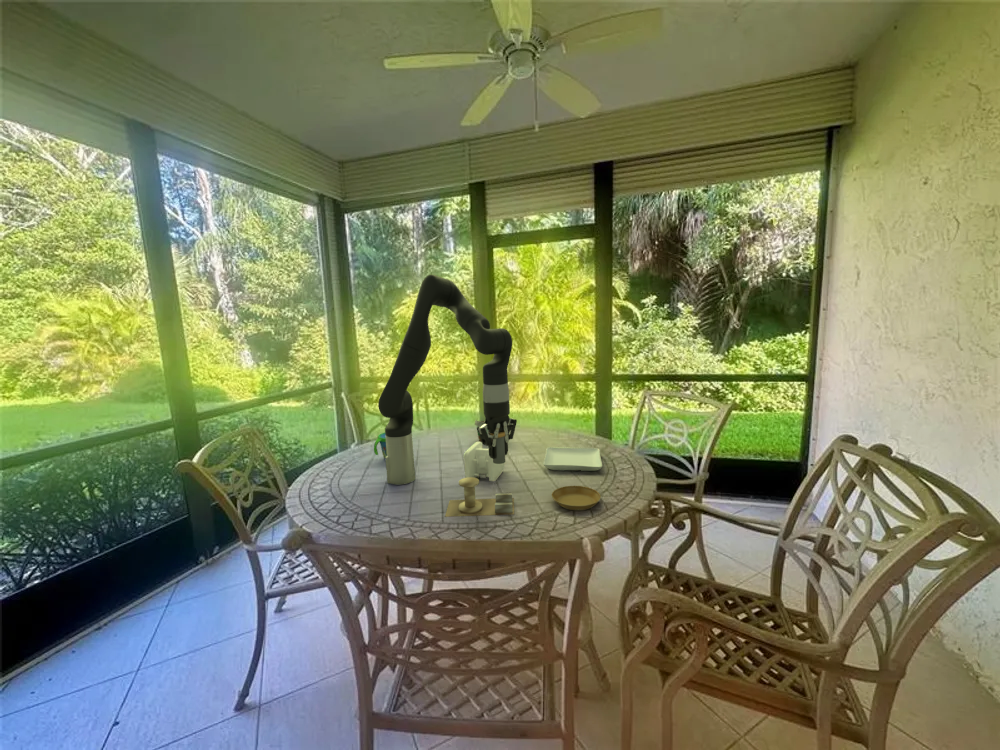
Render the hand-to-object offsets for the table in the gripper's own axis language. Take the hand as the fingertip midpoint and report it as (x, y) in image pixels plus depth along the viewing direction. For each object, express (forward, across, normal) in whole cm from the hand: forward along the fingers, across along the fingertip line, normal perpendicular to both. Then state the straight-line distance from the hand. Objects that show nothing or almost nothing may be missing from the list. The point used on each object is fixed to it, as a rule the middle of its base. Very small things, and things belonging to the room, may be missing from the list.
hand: (498, 456), depth 127 cm
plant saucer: (+17, -20, +13) cm, 29 cm away
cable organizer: (+17, -14, -24) cm, 33 cm away
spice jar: (+2, 0, 0) cm, 2 cm away
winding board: (+17, +4, -4) cm, 18 cm away
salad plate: (+18, -45, -10) cm, 50 cm away
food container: (+17, -41, -56) cm, 71 cm away
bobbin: (+16, +7, -6) cm, 18 cm away
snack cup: (+17, -1, -69) cm, 72 cm away
